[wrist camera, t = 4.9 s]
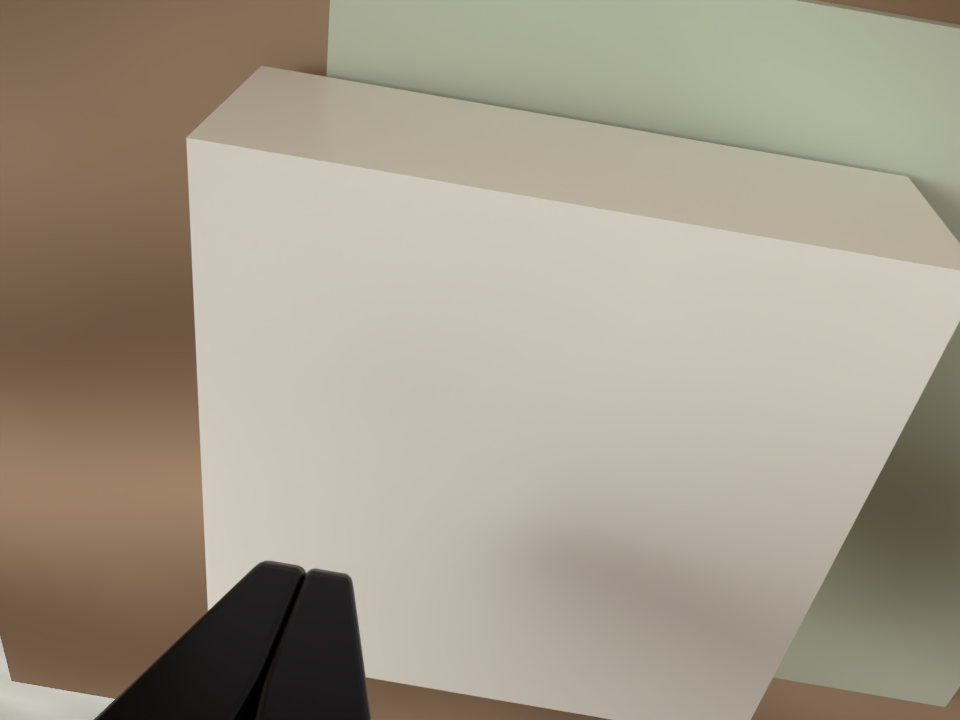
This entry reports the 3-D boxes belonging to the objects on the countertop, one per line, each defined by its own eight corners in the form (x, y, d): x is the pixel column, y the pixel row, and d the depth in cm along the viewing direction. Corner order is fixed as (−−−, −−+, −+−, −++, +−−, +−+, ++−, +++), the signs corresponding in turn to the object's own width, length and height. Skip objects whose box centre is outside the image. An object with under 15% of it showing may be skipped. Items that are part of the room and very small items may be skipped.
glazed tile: (262, 523, 14) (717, 601, 14) (209, 650, 12) (739, 741, 12) (266, 61, 10) (903, 171, 10) (186, 136, 8) (984, 274, 8)
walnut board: (984, 791, 18) (1011, 863, 17) (43, 629, 18) (5, 690, 17) (1720, -90, 9) (1888, -67, 8) (-172, -414, 9) (-285, -440, 8)
